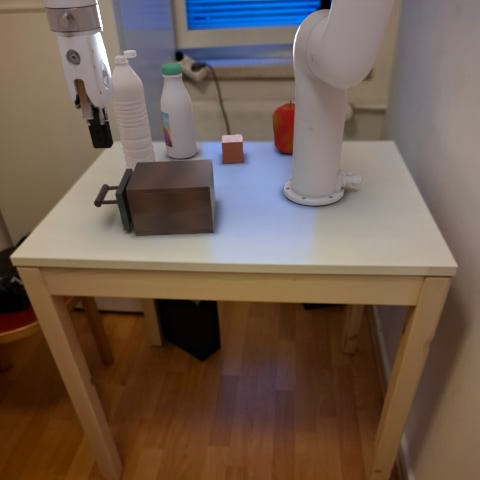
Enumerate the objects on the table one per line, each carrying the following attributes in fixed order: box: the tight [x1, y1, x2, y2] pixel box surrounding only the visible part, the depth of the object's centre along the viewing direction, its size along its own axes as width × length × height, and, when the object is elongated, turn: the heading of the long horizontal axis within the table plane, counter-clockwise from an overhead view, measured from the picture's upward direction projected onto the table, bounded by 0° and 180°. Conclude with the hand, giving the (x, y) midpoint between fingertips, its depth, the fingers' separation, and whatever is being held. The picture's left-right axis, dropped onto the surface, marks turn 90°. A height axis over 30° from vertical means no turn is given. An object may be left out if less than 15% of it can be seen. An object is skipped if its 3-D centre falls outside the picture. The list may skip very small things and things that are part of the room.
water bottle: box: [111, 49, 157, 171], centre depth 92 cm, size 9×6×25 cm
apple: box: [271, 99, 295, 155], centre depth 106 cm, size 9×8×12 cm
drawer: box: [93, 168, 133, 231], centre depth 83 cm, size 18×11×7 cm, turn 91°
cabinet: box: [126, 159, 216, 237], centre depth 83 cm, size 15×12×9 cm
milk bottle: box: [159, 62, 198, 160], centre depth 104 cm, size 8×8×20 cm
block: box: [221, 134, 244, 164], centre depth 106 cm, size 5×5×5 cm
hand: (103, 146), depth 76 cm, fingers closed
